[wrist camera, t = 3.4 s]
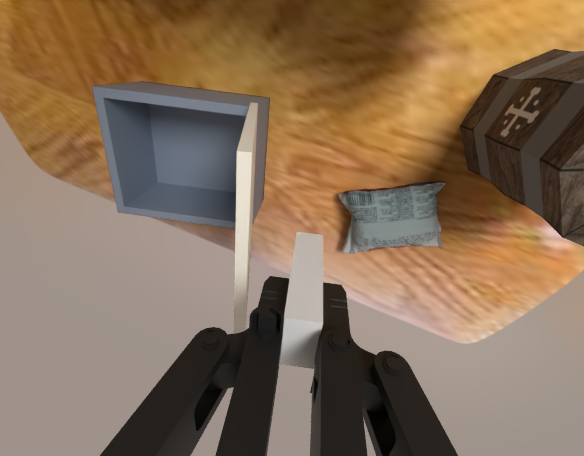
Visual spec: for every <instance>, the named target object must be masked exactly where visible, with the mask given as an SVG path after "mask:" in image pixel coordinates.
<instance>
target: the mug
mask: <svg viewBox="0 0 584 456" xmlns="http://www.w3.org/2000/svg"><path fill="white" fill-rule="evenodd" d="M460 128H461V133H462V139H463V144H464V150H465V155H466V161H467V166H468V170H470V171H473V172H475V173H477V174H480V175H482V176H483V177H484V178H486V179H487V180H489V181H490V182H491V183H493V184H494V185H495V186H496V187H497V188H498V189H499V190H500V191H501V192H502V193H503V194H504V195H506V196H508V197H509V198H511V199H513V200H515V201H517V202H519V203H521V204H523V205H525V206H527V207H528V208H529V209H531V210H532V211H534V212H535V213H537V214H538V215H539V216H541V217H542V218H544V219H545V220H546V221H547V222H548V223H549V224H550V225H551V226H552V227H553V228H554V229H555V230H556V231H557V232H558V233H559V234H560V235H561V236H562V237H563V238H565V239H568V240H570V241H573V242H575V243H578V244H580V245H582V246H584V51H580V52H570V51H563V50H557V49H553V50H551V51H548V52H546V53H544V54H541V55H539V56H537V57H534V58H532V59H530V60H527V61H525V62H522V63H520V64H518V65H515V66H513V67H511V68H508V69H506V70H503V71H501V72H499V73H496V74H494V75H493V76H492V78H491V79H490V81H489V82H488V84H487V85H486V87H485V88H484V90H483V92H482V93H481V95H480V96H479V98H478V99H477V101H476V102H475V104H474V105H473V107H472V109H471V110H470V112H469V113H468V115H467V116H466V118H465V119H464V121H463V122H462V124H461V126H460Z"/></svg>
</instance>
